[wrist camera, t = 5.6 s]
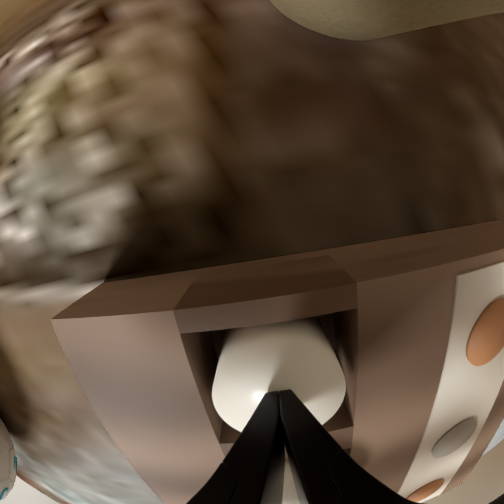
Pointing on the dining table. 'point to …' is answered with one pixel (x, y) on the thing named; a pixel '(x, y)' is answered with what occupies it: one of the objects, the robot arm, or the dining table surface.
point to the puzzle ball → (6, 462)
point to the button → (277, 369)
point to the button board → (343, 343)
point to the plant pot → (380, 15)
